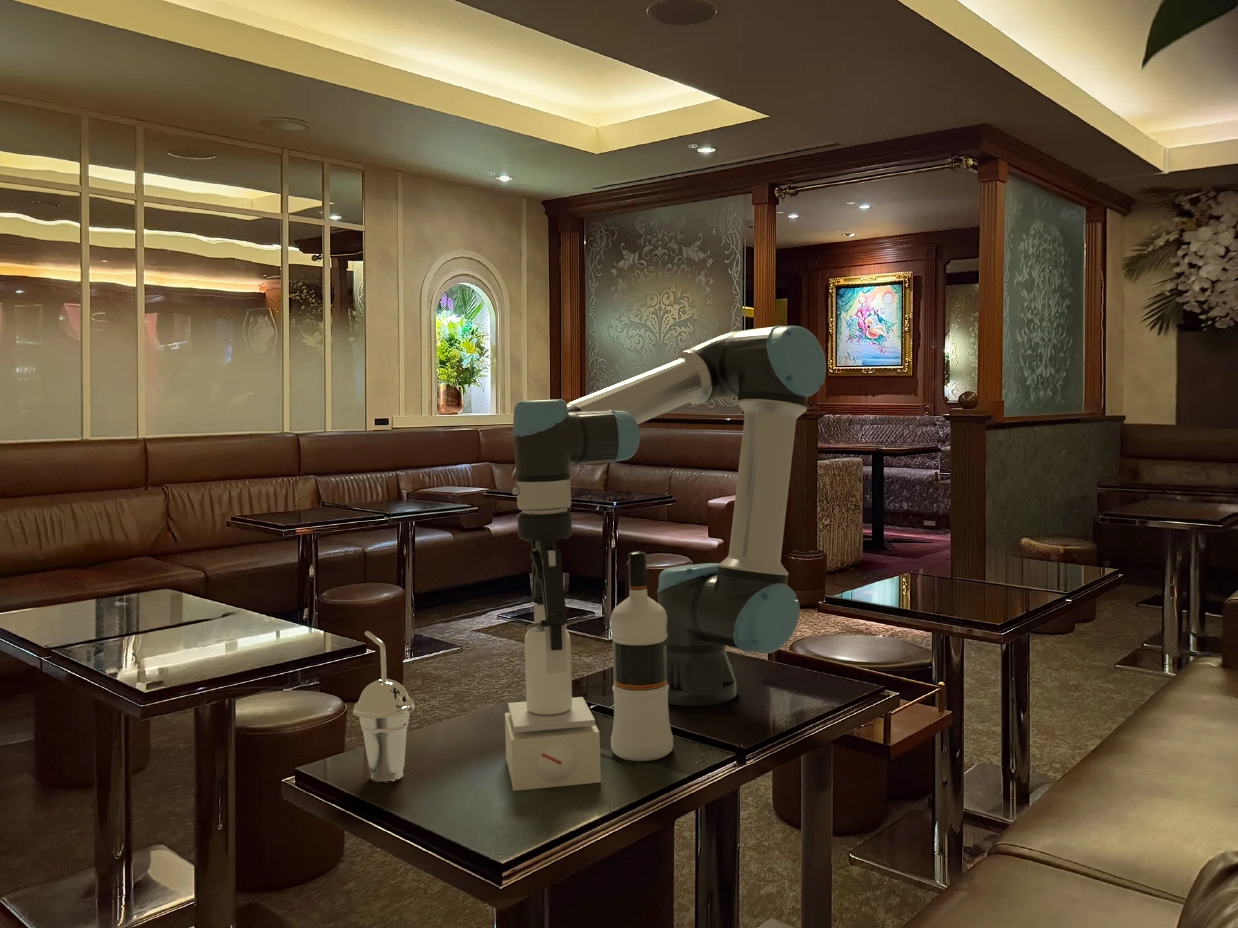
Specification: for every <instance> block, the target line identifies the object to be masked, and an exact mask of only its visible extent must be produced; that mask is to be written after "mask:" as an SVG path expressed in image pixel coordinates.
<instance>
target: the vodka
mask: <svg viewBox="0 0 1238 928" xmlns="http://www.w3.org/2000/svg"><path fill="white" fill-rule="evenodd" d="M646 557H647V554H646V552H644V551H638V550H636V551H631V552H629V553H628V581H629V582H628V585H629V586H628V587H629V595H628V597H627V598H625V599H624V600H623V601H621V602H620V603H619V604H617V605H616V606H615V607H614V608H613V610H612V612H611V615H610V627H611V640H612V661H613V669H612V670H613V686H612V691H613V703H614V706H613V708H614V709H613V715H614V716H613V726H612V732H611V733H612V734H611V736H610V749H611V750H612V753H614V755H615V756H617V757H618V758H620V759H623V760H626V761H632V762H652V761H656V760H660V759H663V758H665V757H666V756H667V755H669V754H670V753H671V752H672V750H673V748H674V736H673V732H672V729H671V728H672V727H671V722H670V713H669V710H670V709H669V704H668V689H669V685H668V684H667V683H668V680H667V639H666V638H667V636H668V634H667V614H666V611H665V609H664V608H663V607H662V606H661V605H660V604H658V601H657V602H656V600H654V599H652V598H651V597H650V596H648V585H647V558H646Z"/></svg>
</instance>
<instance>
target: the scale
mask: <svg viewBox="0 0 1238 928" xmlns="http://www.w3.org/2000/svg"><path fill="white" fill-rule="evenodd" d="M507 705H508V706H507V707H508V708H507V709H508V712H504V730H505V753H506V754H505V758H506V764H507V769H508V774H509V778H510V782H511V788H512V791H514V792H515V791H523V790H525V791H528V790H535V789H537V790H538V789H545V788H555V787H556V788H557V787H565V786H579V785H586V784H596V783H597V784H598V783H601V782H602V779H601V777H602V776H601V770H602V769H601V744H600V743H601V741H600V738H601V735H600V731H599V728H598V727H597V725H596V718H595V717H594V715H593V714H592V712H591V710H590V708H589V706H588V704H587V702H586V700H585V699H584V697H583V696H577V697H572V707H571V708H570V710H569V711H568V712H566V713H563V714H560V715H553V716H540V715H535V714H532V713H530V712H529V710H528V709H527V702H526V701H517V702H508V703H507Z"/></svg>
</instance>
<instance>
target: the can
mask: <svg viewBox="0 0 1238 928" xmlns="http://www.w3.org/2000/svg"><path fill="white" fill-rule="evenodd" d="M567 628H568V627H567V623H565V637H566V661H567V672H565V673H554V674H547V673H546V654H545V630H544V627H541V622H540V623H531V624H528V626H526V629H527V631H526V634H525V635H524V663H525V664H524V665H525V666H524V667H525V669H524V671H525V696H526V698H525V699H526V701H525V702H527V709H528V710H529V712H530V713H532V714H535V715H540V716H553V715H560V714H563V713H566V712H568V711H569V710H570V708H571V707H572V698H573V693H572V692H573V690H572V686H573V685H572V654H571V653H572V652H571V651H572V650H571V649H572V647H571V636H570V633H569V631H568V629H567Z"/></svg>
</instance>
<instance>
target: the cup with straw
mask: <svg viewBox="0 0 1238 928" xmlns="http://www.w3.org/2000/svg"><path fill="white" fill-rule="evenodd" d="M364 635H365V636H366V637H367V638H369V639H370V640H372V641H373V642H374V643H375V644H376V645H378V646H379V650H380V668H381V669H380V670H381V676H380V679H377V680H375V681H373V682H371V683H369V684H368V685H367V686H366V687H365V688H364V689H363V690H362V691H361V694H360V697H359V699H358V701H357V702H356V703H355V704H354V705H353V710H352V713H353V715H354V716H356V717H359V724H360V726H361V731H362V732H363V733H362V734H363V739H364V745H365V746H364V747H365V751H366V752H365V753H366V759H367V764H368V771H369V773H370V777H371V779H373V780H374V781H379V782H380V781H385V783H387V782H386V781H392V782H395V780H396V779H398V780H401V779H402V778H403V776H404V772H403V771H404V768H405V760H406V759H405V758H406V746H407V731H408V726H409V720H410V716H411V715H410V714H411V713H410V712H412V711H413V710H414V709H415V708H416V705H415V702H414V699H413V697H410V696H409V693H408V691H407V690H406V688H405V686H403V685H402V684H401V683H400V682H398V681H396V680H394V679H390V678H387V655H386V651H387V650H386V645H385V643H384V642H383V641H382V640H381V639H380V638H378V637H377V636H376V635H374V634H373V633H372V632H371V631H369V630H367V631H365V632H364ZM401 777H402V778H401ZM371 779H370V780H371ZM374 781H373V782H374ZM396 781H397V780H396ZM379 782H378V783H379Z"/></svg>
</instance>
